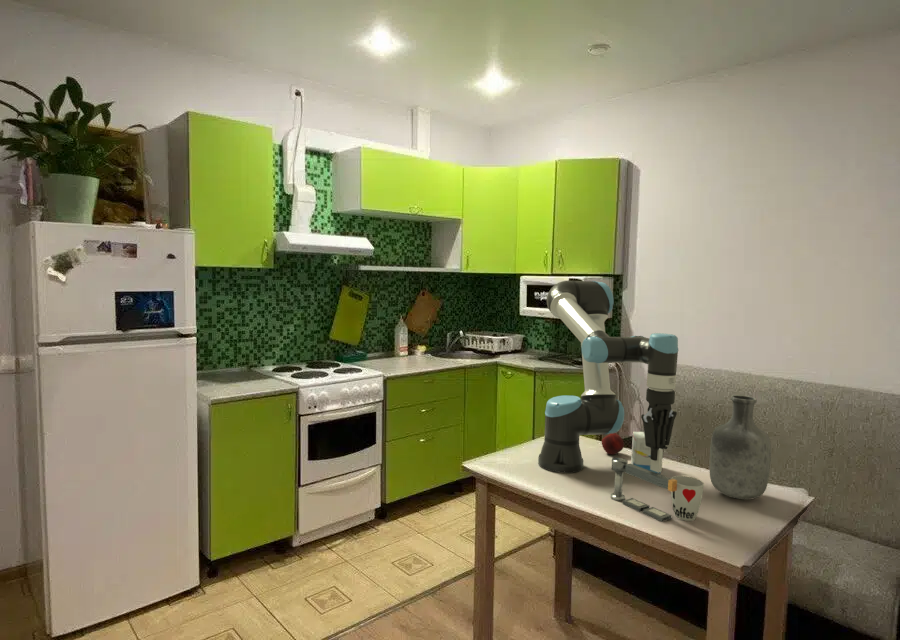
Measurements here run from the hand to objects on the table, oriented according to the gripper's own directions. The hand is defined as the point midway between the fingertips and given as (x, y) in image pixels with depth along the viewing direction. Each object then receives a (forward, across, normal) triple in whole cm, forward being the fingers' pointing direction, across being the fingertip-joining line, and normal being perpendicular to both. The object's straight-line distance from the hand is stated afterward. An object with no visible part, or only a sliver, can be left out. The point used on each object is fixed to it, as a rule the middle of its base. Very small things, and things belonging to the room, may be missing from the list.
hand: (655, 470), depth 156 cm
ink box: (+10, +23, +21) cm, 33 cm away
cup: (+10, 0, -10) cm, 14 cm away
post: (+10, -6, +8) cm, 14 cm away
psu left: (+10, -6, +2) cm, 12 cm away
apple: (+10, +25, +37) cm, 46 cm away
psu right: (+10, -6, -6) cm, 13 cm away
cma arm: (+1, -6, 0) cm, 6 cm away
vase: (+10, +28, -8) cm, 31 cm away
